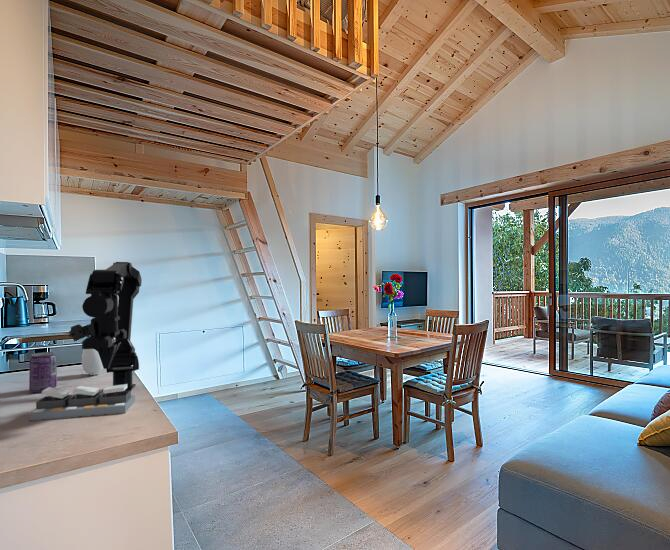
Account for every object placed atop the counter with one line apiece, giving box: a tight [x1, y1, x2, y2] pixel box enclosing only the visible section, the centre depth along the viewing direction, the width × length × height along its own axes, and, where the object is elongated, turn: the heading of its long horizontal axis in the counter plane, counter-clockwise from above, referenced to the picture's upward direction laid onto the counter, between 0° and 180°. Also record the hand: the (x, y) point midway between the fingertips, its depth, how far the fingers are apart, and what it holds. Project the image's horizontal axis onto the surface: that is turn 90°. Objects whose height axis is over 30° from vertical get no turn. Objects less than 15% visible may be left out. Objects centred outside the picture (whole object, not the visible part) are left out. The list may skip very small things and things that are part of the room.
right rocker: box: [102, 384, 127, 395], centre depth 108 cm, size 4×5×1 cm
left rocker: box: [40, 387, 70, 399], centre depth 104 cm, size 4×5×1 cm
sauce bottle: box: [81, 349, 104, 376], centre depth 145 cm, size 8×8×18 cm
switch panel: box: [28, 390, 136, 421], centre depth 106 cm, size 10×23×4 cm, turn 104°
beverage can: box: [28, 351, 58, 393], centre depth 125 cm, size 7×7×12 cm
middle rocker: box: [72, 385, 100, 396], centre depth 106 cm, size 4×5×1 cm
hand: (106, 368), depth 108 cm, fingers closed
